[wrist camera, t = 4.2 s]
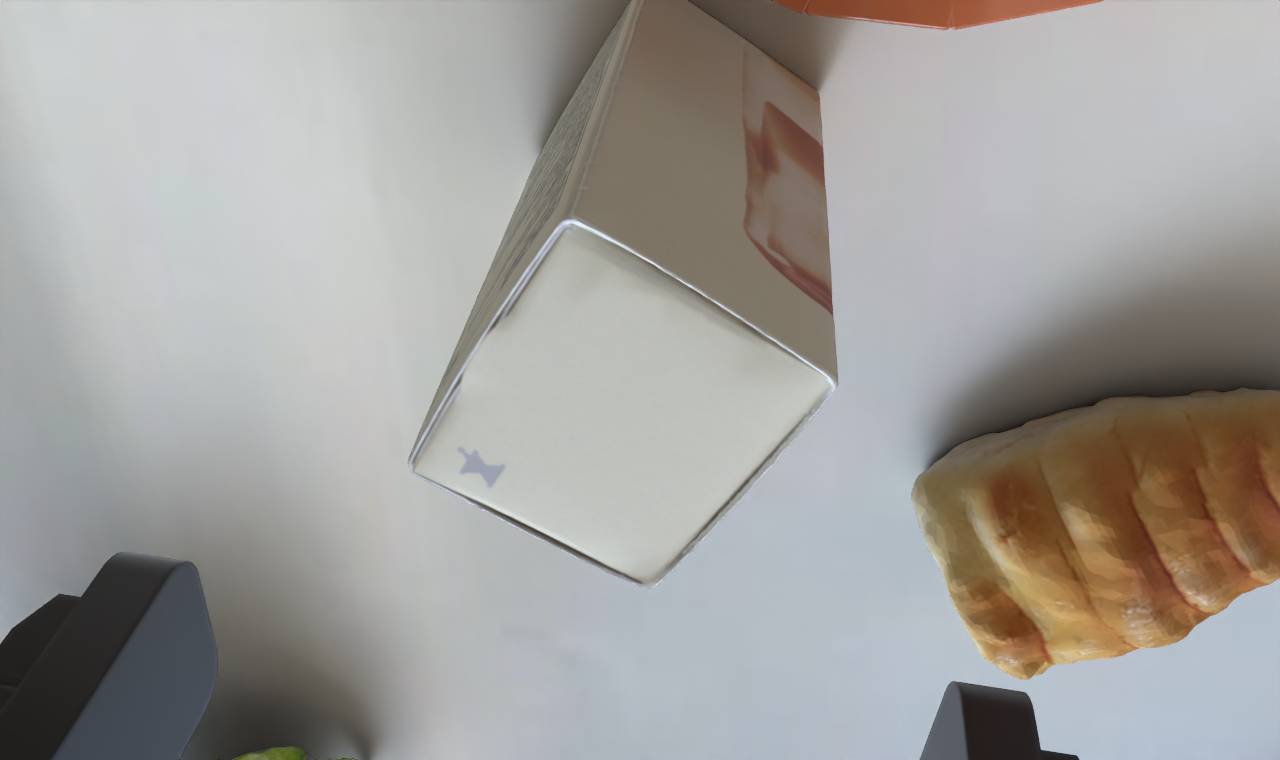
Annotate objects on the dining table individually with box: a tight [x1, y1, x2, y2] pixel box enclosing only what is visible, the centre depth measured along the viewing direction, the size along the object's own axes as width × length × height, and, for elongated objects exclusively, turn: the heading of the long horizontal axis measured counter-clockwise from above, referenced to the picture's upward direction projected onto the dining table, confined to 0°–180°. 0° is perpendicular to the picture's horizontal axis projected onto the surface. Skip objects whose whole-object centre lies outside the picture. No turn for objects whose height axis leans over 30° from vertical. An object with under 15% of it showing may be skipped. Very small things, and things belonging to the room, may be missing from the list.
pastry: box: [911, 387, 1280, 679], centre depth 26 cm, size 9×7×4 cm
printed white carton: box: [408, 0, 838, 589], centre depth 19 cm, size 5×4×10 cm
